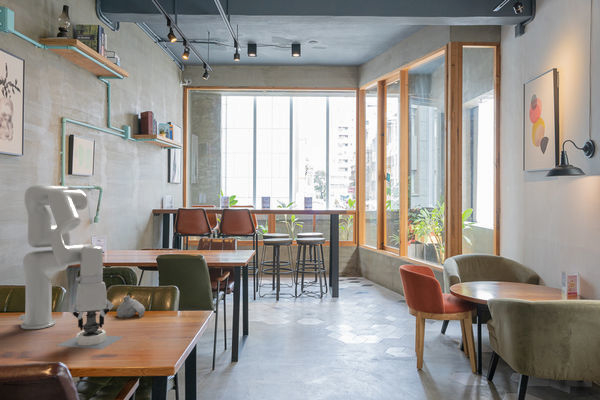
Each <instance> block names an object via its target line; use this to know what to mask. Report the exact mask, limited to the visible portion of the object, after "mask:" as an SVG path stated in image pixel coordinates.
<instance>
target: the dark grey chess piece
mask: <svg viewBox="0 0 600 400" xmlns="http://www.w3.org/2000/svg"><path fill="white" fill-rule="evenodd" d="M85 317H86V323H85V324H84V323H83V331H85V332H87V333H85V334H84V335H83V336H94V335H99V333H98V332H95V331H97V330H98V329H100V326H99V325H100V324H99V322H97V313H96V311H88V312H86V314H85Z"/></svg>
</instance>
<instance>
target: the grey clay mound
mask: <svg viewBox="0 0 600 400" xmlns="http://www.w3.org/2000/svg"><path fill="white" fill-rule="evenodd" d="M122 299H123V301H122V302H121V303H120V305H119V306H118V307H117V310H116V315H117V317H118V318H120V319H121V318H127V319H128V318H131V317H134V316H135V314H136V313H137V314H138V317H139V318H141V317H143V316H144V314H145V312H146V308H145V306H144V305H143V304H142V303H140V302H139V301H138V300H137V299H134V298H131V297H130V295H126V296H123V297H122Z"/></svg>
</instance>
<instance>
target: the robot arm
mask: <svg viewBox="0 0 600 400" xmlns="http://www.w3.org/2000/svg"><path fill="white" fill-rule="evenodd" d="M88 202H89V201H88V196H87V194H86V193H85V191H83V190H81V189H79V188H76V187H74V186H69V185H52V184H51V185H49V184H37V185H32V186H29V187H28V188H26V190H25V193H24V205H25V208H26V211H27V212H26V213H27V243H28V245H29V246H30V247H32V248H35V249H36V248H37V249H39V248H40V249H41V248H51V249H46V250H45V249H43V250H42V249H41V250H35V251H30V252H28V253H27V254H25V255H24V256H23V259H22V265H23V272H24V279H25V308H24V309H25V310H24V312H25V314H24V313H23V314H20V316H19V317H18V321H22V323H21V324H20V328H21V329H23V330H39V329H40V330H41V329H47V328H49V327H52V326H54V325H56V319H53V318H52V299H53V297H52V293H53V291H52V289H53V288H52V286H53V285H52V281H51V279H50V278H49V277H48V275H47V273H53V272H61V271H65V270H67V268H68V267H69V266H75V265H80V271H79V273H80V276H77V277H75V281H76V282H79V283H78V284H77V287H76V288H77V289H76V298H75V300H76V301H74V302H73V303H72V305H70V307H69V308H67V311H68V312H69V313H70V314H72V315H73V317H75V318H77V327H78V329H80V331H84V329H83V325H84V319H83V315H84V313H87V312H88V311H97V312H98V311H99V316H98V317H99V319H98V320H99V321H98V323H99V324H100V325H99V329H100V328H103V325H105V316H106V315H107V314H108V313H109V312H110V310H111V309H113V308H114V303H112V302H111V301H110V300H109V299H108V298H107V297H108V295H107V287H106V283H105V281H103V280H104V279H103V277H104V275H103V274H104V269H103V267H104V249H103V247H102V246H100V245H94V244H91V243H81V244H80V243H79V244H71V235H70V234H71V233H70V232H71V231H72V230H74V229H76V228H78V227H79V226H80V224H81V222H82V221H81V217H80V215H79V213H78V211H83V210H85V209H86V208H87V206H88ZM47 206H49V207H50V210H49V208H48V207H47ZM52 217H53V218H54V221H55V224H52ZM74 309H76V310H74Z"/></svg>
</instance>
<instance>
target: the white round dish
mask: <svg viewBox="0 0 600 400" xmlns="http://www.w3.org/2000/svg"><path fill="white" fill-rule="evenodd" d="M95 332H98V333H99V335H94V336H83V335H84V334H85V333H87V332H85V331H84V330H81V331H79V332H78V333H76V336H77V343H78V345H94V344H100V343H101V342H103V341H105V340H106V336H107V334H106V333H107V332H106V331H105V329H100V328H98V330H97V331H95Z"/></svg>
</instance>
